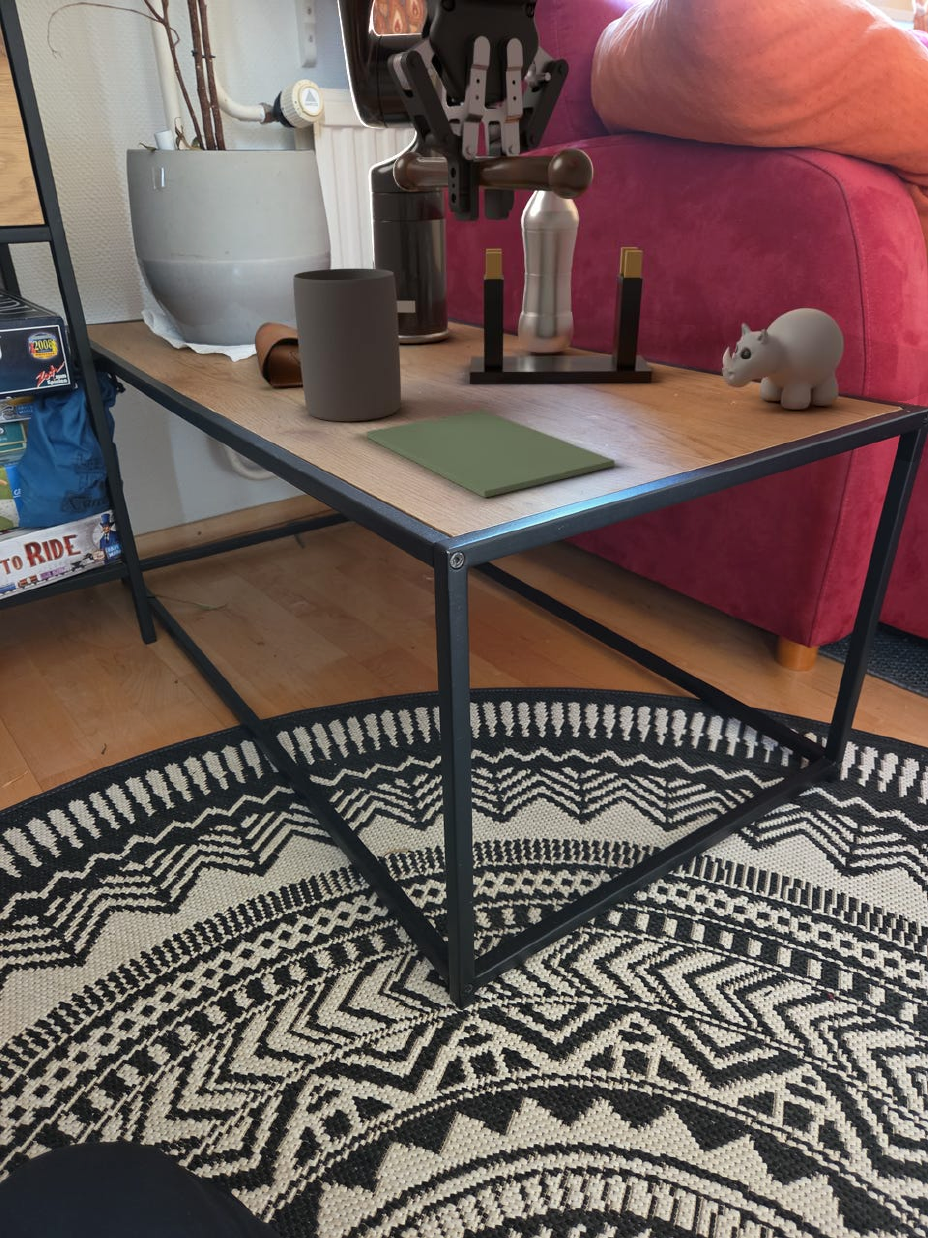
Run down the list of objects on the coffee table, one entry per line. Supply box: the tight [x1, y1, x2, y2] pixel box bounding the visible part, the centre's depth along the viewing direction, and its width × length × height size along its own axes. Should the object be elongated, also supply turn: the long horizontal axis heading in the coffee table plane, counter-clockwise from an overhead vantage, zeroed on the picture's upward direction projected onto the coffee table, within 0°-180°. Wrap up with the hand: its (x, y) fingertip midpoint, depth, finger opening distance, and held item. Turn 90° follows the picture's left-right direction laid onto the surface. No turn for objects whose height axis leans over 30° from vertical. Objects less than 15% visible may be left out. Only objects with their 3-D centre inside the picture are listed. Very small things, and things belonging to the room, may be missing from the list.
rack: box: [469, 246, 653, 384], centre depth 90 cm, size 8×19×12 cm, turn 88°
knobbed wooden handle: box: [393, 147, 594, 200], centre depth 60 cm, size 3×22×3 cm, turn 33°
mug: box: [292, 268, 402, 422], centre depth 80 cm, size 14×9×12 cm
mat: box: [365, 410, 615, 499], centre depth 69 cm, size 18×12×1 cm, turn 33°
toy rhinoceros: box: [721, 307, 845, 411], centre depth 78 cm, size 7×12×8 cm, turn 108°
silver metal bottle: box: [517, 191, 580, 355], centre depth 98 cm, size 6×7×20 cm
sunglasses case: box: [254, 321, 303, 388], centre depth 96 cm, size 18×7×7 cm
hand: (482, 218), depth 61 cm, fingers closed on knobbed wooden handle, 2 cm apart
